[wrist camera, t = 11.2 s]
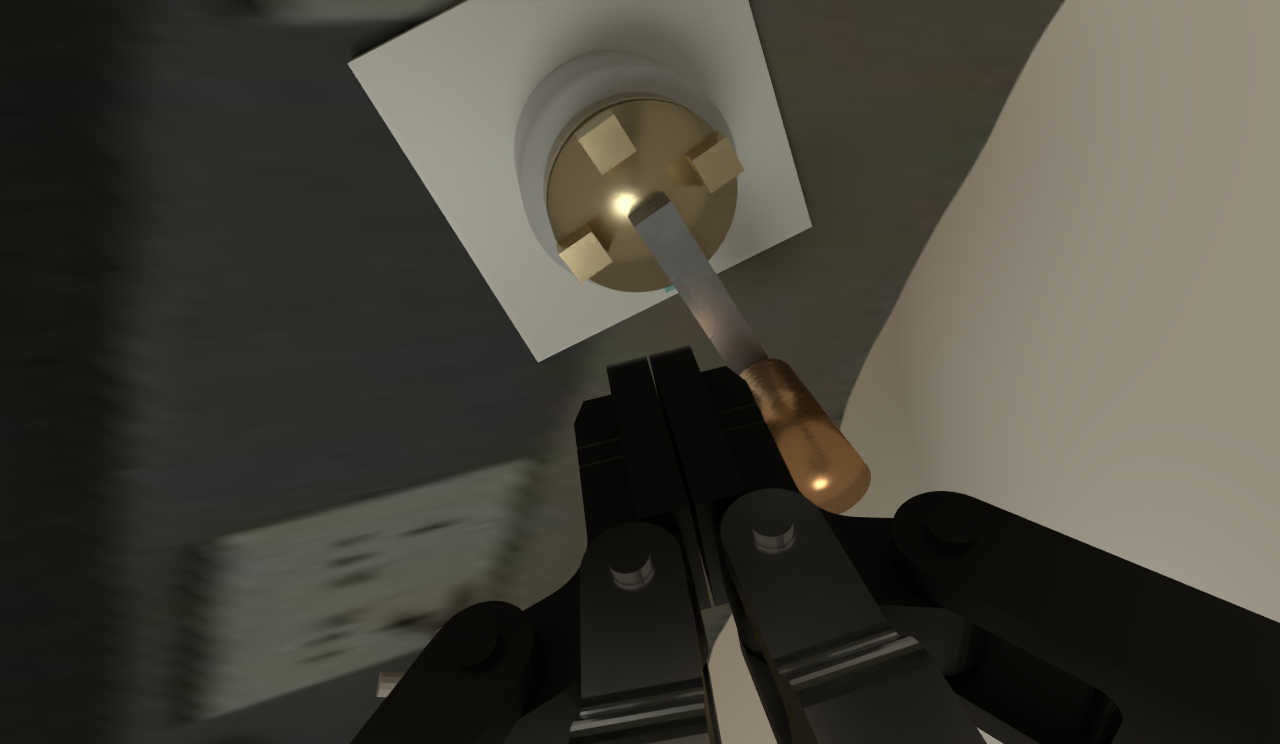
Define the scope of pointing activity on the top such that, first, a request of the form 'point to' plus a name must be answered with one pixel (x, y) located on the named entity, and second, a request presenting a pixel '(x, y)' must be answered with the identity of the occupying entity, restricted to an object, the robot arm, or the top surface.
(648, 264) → the lever-handled chuck
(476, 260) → the cylinder on square plate
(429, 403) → the top surface
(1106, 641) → the robot arm
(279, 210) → the top surface
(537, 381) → the top surface
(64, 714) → the top surface
